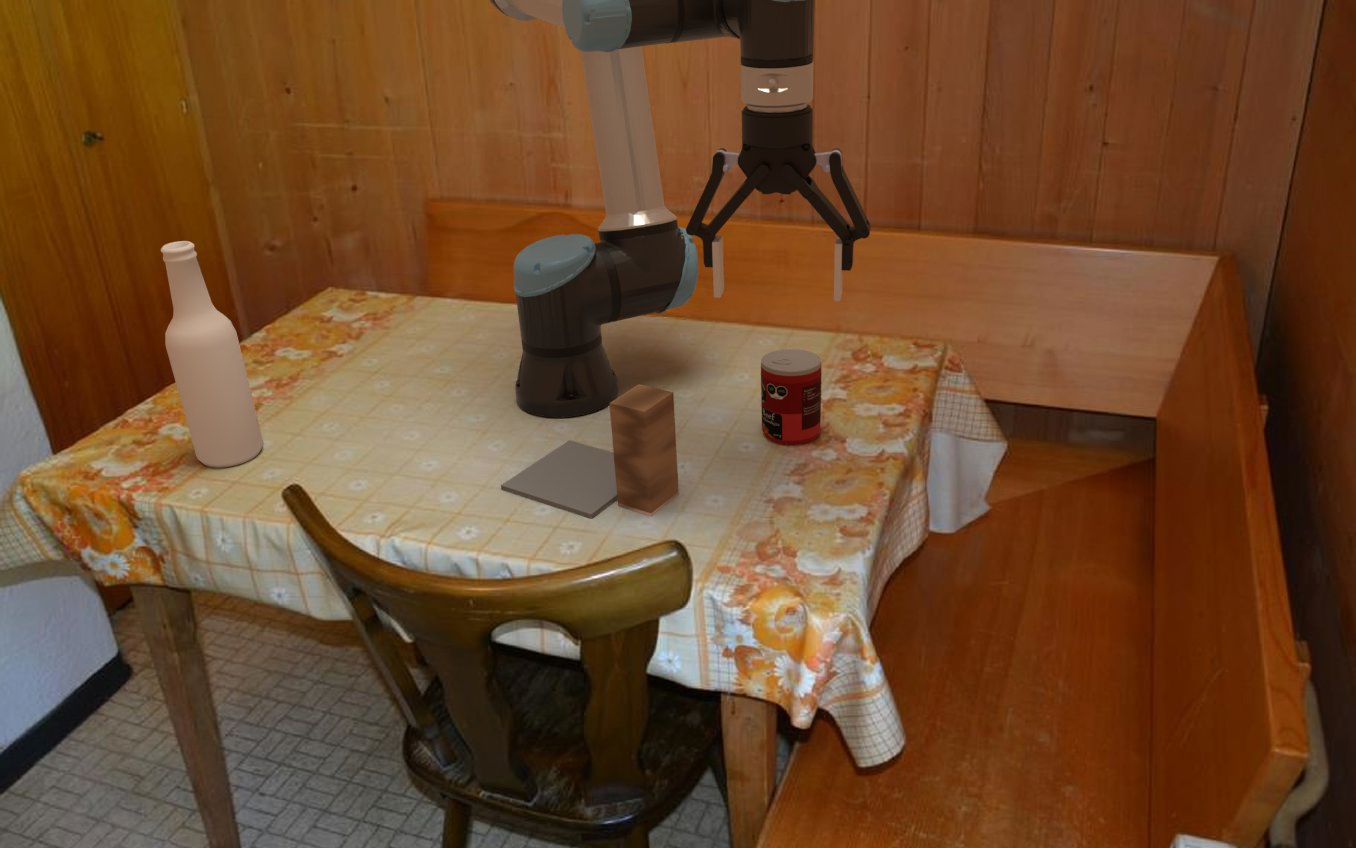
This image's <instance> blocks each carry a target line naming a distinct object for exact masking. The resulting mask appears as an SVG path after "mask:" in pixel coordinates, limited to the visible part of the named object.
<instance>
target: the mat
mask: <svg viewBox="0 0 1356 848" xmlns="http://www.w3.org/2000/svg"><path fill="white" fill-rule="evenodd" d="M500 489H501V490H503V491H506V492H509V493H511V494H515V495H517V496H521V497H523V498H528V499H529V500H534V501H536V502H539V503H542V504H545V505H549V506H552V507H555V508H558V509H561V510H564V511H568V512H570V513H574V514H576V515H579V516H583V517H584V518H585V517H586V518H589V519H593V518H594V517H596V516H597V515H598V514H600V513H601V512H602V511H604V510H605V509H606V508H607V507H609V506H610V505H612V504H613V503H614V502H615V501H617V489H616V476H615V464H614V452H612V451H609V450H605V449H602V448H598V447H595V446H592V445H587V444H584V443H580V442H577V441H574V440H567V441H566V442H564V443H563V444H561V445H560V446H558V447H556V448H555V449H553V450H552V451H551V452H549V453H548V454H546V455H545V456H543V457H542V458H540V459H539V460H537V461H535V462H534V463H532V464H531V465H529V466H528V467H526V468H525V469H523V470H522V471H520V472H519V473H517V474H515V475H514V476H512V477H510V479H508V480H506V481H505V482H503V483H502V484H500Z"/></svg>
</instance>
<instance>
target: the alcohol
mask: <svg viewBox="0 0 1356 848" xmlns="http://www.w3.org/2000/svg"><path fill="white" fill-rule="evenodd" d="M195 247H196V246H195V243H193V242H191V241H188V240H181V241H173V242H169V243H166V244H164V245H162V247H161V248H160V252H161V253H162V260H163V262H164V263H165V268H166V275H167V280H168V286H169V291H170V296H171V302H172V303H171V304H172V307H173V313H172V319H171V320H170V322H169V323H168V326H167V329H166V331H165V334H164V335H165V336H164V337H165V341H164V342H165V348H166V352H167V355H168V359H169V363H170V366H171V371H172V373H173V377H174V378H173V379H174V380H175V385H176V387H177V392H178V396H179V397H180V403H181V406H182V410H183V413H184V417H185V419H186V424H187V428H188V431H189V435H190V439H191V441H192V447H193V449H194V452H195V457H196V458H197V460H198V461H200V462H201V463H202V464H203V465H205V466H206V467H209V468H217V469H220V468H222V469H223V468H229V467H234V466H239V465H242V464H244V463H247V462H248V461H251V460H253V459H254V458H256V457H257V456H258V455H259V454H260V452H261V450H262V448H263V444H264V439H263V434H262V432H261V427H260V423H259V418H258V415H257V410H256V408H255V402H254V398H253V393H252V390H251V386H250V382H249V378H248V374H247V369H246V364H245V362H244V357H243V354H242V350H241V346H240V341H239V338H238V334H237V330H236V328H235V327H234V325H233V322H232V321H231V319H229V318H228V317H227V316H226V315H225V314H224V313H222V312H221V311H219V310H217V308H216V307H215V306H214V304H213V302H212V299H211V296H210V293H209V290H208V288H207V284H206V282H205V279H204V276H203V274H202V269H201V267H200V264H199V261H198V259H197V257H198V253H197V251H195Z"/></svg>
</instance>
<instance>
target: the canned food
mask: <svg viewBox="0 0 1356 848" xmlns="http://www.w3.org/2000/svg"><path fill="white" fill-rule="evenodd" d="M760 393H761V397H760V398H761V399H760V400H761V404H760V406H761V410H760V411H761V431H762V433H763V436H764V438H766V440H768V441H769V442H771V443H774V444H777V445H781V446H789V447H790V446H793V447H794V446H800V445H806V444H809V443H811V442H813V441H814V440H816V439H817V438H818V437H819V434H820V431H821V425H822V424H821V422H822V421H821V420H822V418H821V417H822V415H821V414H822V412H821V411H822V359H821V357H820V356H819V355H818V354H817V353H814V352H811V351H810V350H809V351H808V350H806V349H805V350H804V349H797V348H790V349H789V348H785V349H777V350H774V351H770V352H768V353H766V354H764V355H763V356H762V357H761V361H760Z"/></svg>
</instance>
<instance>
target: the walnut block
mask: <svg viewBox="0 0 1356 848" xmlns="http://www.w3.org/2000/svg"><path fill="white" fill-rule="evenodd" d="M674 400H675V399H674V391H669V390H667V389H661V388H657V387H652V386H649V385H644V384H640V383H638V384H637V385H635V386H634V387H632V388H630V389H629V390H627V391H626V392H624V393H623V394H622V395H620V396H617V397H616V398H615V400H613V401H612V402H610V403H609V413H610V427H611V438H612V450H613V453H614V464H615V476H616V489H617V500H616V501H617V506H618V507H621V508H623V509H627V510H630V511H633V512H636V513H640V514H643V515H646V516H649V517H652V516H653V515H654V514H656V513H658V512H659V511H660V510H661V509H662V508H663V507H665V506H666V505H667V504H669V503H670V502H671V501H673V499H675V498H676V497H677V496H678V495H679V494H680V492H679V473H678V455H677V454H678V453H677V437H676V435H677V434H676V422H675V421H676V419H675V418H676V417H675V416H676V415H675V401H674Z"/></svg>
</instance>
